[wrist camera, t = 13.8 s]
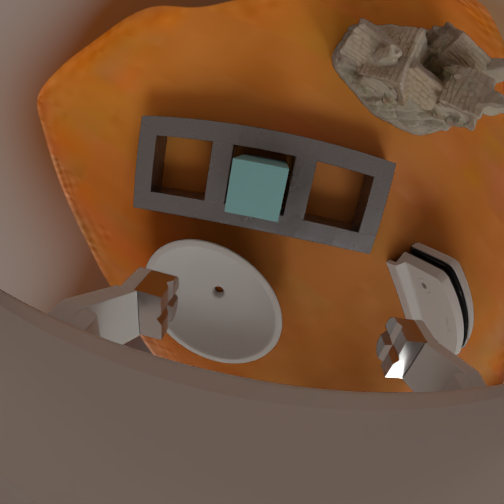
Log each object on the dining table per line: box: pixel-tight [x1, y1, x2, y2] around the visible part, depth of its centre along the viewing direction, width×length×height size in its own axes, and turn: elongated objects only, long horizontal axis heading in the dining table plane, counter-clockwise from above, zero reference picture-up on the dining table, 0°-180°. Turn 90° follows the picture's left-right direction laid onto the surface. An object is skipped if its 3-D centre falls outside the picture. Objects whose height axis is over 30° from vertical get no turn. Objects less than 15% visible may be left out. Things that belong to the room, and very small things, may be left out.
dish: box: [146, 239, 282, 363], centre depth 32 cm, size 18×14×5 cm
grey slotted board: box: [133, 116, 396, 254], centre depth 27 cm, size 10×26×3 cm, turn 80°
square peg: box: [224, 154, 289, 222], centre depth 25 cm, size 4×4×8 cm
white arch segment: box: [386, 242, 474, 355], centre depth 29 cm, size 17×5×10 cm, turn 32°
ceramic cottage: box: [332, 18, 504, 135], centre depth 16 cm, size 16×16×15 cm
